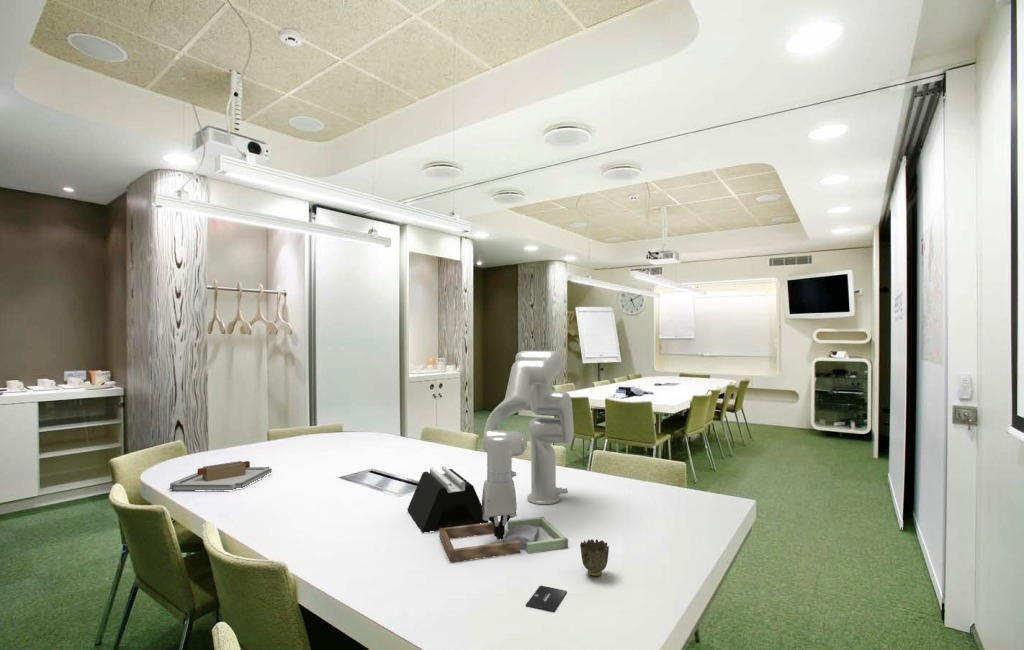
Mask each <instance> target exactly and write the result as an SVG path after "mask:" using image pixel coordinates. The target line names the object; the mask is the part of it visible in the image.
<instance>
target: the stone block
mask: <svg viewBox="0 0 1024 650" xmlns="http://www.w3.org/2000/svg"><path fill="white" fill-rule="evenodd" d="M539 527H540V526H539ZM539 527H538V526H537V527H534V526H529V525H518V526H514V527H511V528H509V530H508V529H507V531H505V535H503V540H504V542H510V541H518V540H519V541H520V551H526V543H527V542H535V541H538V539H539V536H540V535H539V534H540V530H539V529H540V528H539Z"/></svg>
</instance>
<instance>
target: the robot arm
mask: <svg viewBox="0 0 1024 650" xmlns="http://www.w3.org/2000/svg"><path fill="white" fill-rule="evenodd" d="M562 367H563V358H562V355H561V354H560V352H558V350H557V351H556V350H523V351H519V352H518V353H516V355H515V362H514V363H513V364H512V366H511V368H510V372H509V378H508V382H507V388H506V391H505V397H504V399H503V400H502V401H501V402H499V404H498V405H497V406H496V407H495V408H494V409H493V410H492V412H491V413H490V414H489V415H488V418H487V419H486V423H485V427H484V430H483V436H482V448H483V450H484V451H485V452H486V455H487V456H486V464H487V465H486V468H487V469H486V476H487V477H486V480H484V481H483V488H482V497H481V505H482V512H483V514H482V519H483V520H486V521H488V522H492V523H493V524H494V533H493V535H494V537H495V538H496V540H498V541H500V540H504V536H505V534H506V526H507V524H508V521H510V520H511V519H513V518H516V517H517V494H516V486H515V483H514V482H515V481H514V479H513V478H514V477H516V476H517V472H516V471H513V470H512V469H513V468H512V467H513V465H512V461H513V460H512V458H513V457H519V456H521V455H522V454H524V453H525V452H526V451H527V448H528V439H527V437H526V435H525V434H524V433H523V432H520V431H513V430H500V429H498V428H499V425H500V424H501V423H502V421H503V420H505V419H506V418H508V417H509V416H512V415H514V414H516V413H518V412H521V411H523V410H525V409H527V408H529V406H530V410H531V412H532V413H533V414H535V415H537V416H538V417H537V416H536V417H533V418H532V419H531V420H530V421H529V423H528V436H529V441H530V463H531V464H530V468H531V469H530V478H531V479H530V481H531V482H530V484H531V485H530V486H531V488H530V489H531V493H529V494H528V495H527V501H528V502H529V503H531V504H535V505H554V504H557V503H558V502H560V500H561V497H560V495H564V494H565V495H566V494H568V492H569V490H568V488H562V487H557V483H556V482H557V481H556V480H557V478H556V477H557V476H556V475H557V473H556V472H557V470H556V469H557V468H556V467H557V466H556V465H557V464H556V457H557V455H556V452H555V449H554V447H553V446H552V445H551V444H564V445H565V444H570V443H571V442H572V441H573V440H574V436H575V435H574V434H575V430H574V429H575V426H574V425H575V424H574V414H573V411H574V410H573V403H572V398H571V395H570V394H569V393H568V392H566V391H562V390H553V389H552V382H553V381H554V380H555V378H556V377H558V375H559V373H560V372H561V370H562ZM499 517H500V518H499ZM498 521H500V523H498Z"/></svg>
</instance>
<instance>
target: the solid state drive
mask: <svg viewBox="0 0 1024 650" xmlns="http://www.w3.org/2000/svg"><path fill="white" fill-rule="evenodd" d="M567 593H568V591H567V590H566V589H559V588H554V587H550V586H545V585H539V587H538V588H537V589H536V590H535V592H534V593H533V595H531V597H530V598H529V600H528V601H527V602H526V603H525V607H527V608H530V609H535V610H540V611H545V612H548V613H555V612H556V610H557V609H558V608H559V606H560V605H561V603H562V601H563V600H564V598H565V596H566V595H567Z"/></svg>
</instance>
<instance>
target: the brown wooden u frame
mask: <svg viewBox="0 0 1024 650" xmlns="http://www.w3.org/2000/svg"><path fill="white" fill-rule="evenodd" d="M498 523H500V520H498ZM484 534H485V535H491V534H493V535H494V524H493V523H492V522H491V521H489V522H488V523H481V524H473V525H464V526H456V527H447V528H439V531H438V539H439V538H440V539H439V541H440V540H441V541H440V543H441V546H442V545H443V546H442V547H444V548H443V550H444V553H445V552H446V553H445V555H446V554H447V555H446V557H447V556H448V557H447V560H448V559H449V560H448V561H450V562H452V563H458V561H459V562H465V561H464V560H466V561H471V560H470V559H474V560H476V559H475V558H481V559H484V558H483V557H488V558H494V557H493V556H495V557H501V556H500V555H502V556H507V554H509V555H515V554H516V553H517V554H521V550H520V541H519V540H518V541H510V542H503V541H502V542H498V543H497V542H496V543H489V544H481V545H475V546H468V547H467V546H465V547H459V548H458V547H457V548H455V547H454V545H453V544H452V542H451V539H450V538H453V539H459V537H461V538H466V537H467V536H469V537H475V536H474V535H477V536H485V535H484ZM467 538H468V537H467ZM450 562H449V563H450Z"/></svg>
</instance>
